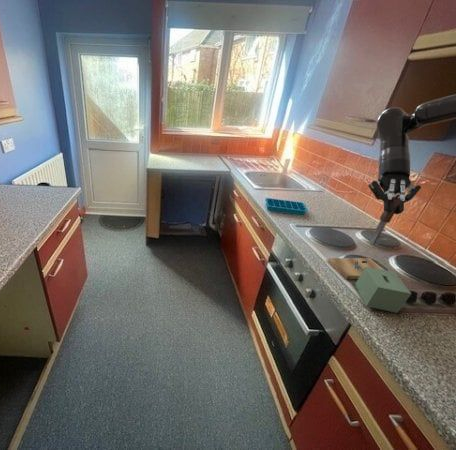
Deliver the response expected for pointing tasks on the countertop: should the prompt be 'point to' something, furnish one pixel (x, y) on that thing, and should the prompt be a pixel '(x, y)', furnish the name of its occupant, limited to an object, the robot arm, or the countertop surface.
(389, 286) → the grey-green block
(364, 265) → the cutting board
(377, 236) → the knife
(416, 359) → the countertop surface
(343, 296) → the countertop surface
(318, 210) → the countertop surface
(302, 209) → the ice cube tray
